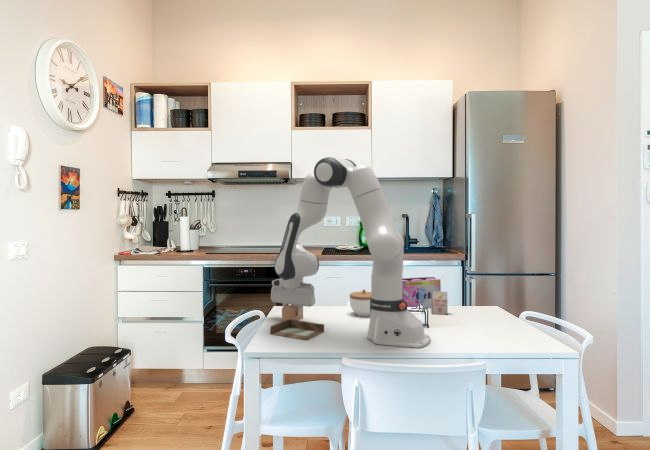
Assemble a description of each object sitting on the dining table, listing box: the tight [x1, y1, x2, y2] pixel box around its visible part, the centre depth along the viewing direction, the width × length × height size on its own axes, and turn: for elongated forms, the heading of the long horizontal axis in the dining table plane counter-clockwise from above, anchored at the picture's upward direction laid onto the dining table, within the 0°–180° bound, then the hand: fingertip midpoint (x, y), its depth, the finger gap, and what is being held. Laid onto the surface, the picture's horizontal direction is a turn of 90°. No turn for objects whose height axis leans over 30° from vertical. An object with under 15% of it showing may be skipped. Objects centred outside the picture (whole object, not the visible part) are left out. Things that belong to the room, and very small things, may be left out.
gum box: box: [402, 276, 442, 309], centre depth 198 cm, size 24×8×14 cm, turn 105°
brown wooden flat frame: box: [270, 319, 325, 341], centre depth 153 cm, size 16×12×3 cm
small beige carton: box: [430, 291, 449, 316], centre depth 184 cm, size 4×7×10 cm, turn 78°
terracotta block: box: [281, 304, 304, 322], centre depth 172 cm, size 4×10×6 cm, turn 151°
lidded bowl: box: [349, 289, 371, 317], centre depth 182 cm, size 13×13×11 cm
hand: (292, 314), depth 172 cm, fingers closed on terracotta block, 4 cm apart
